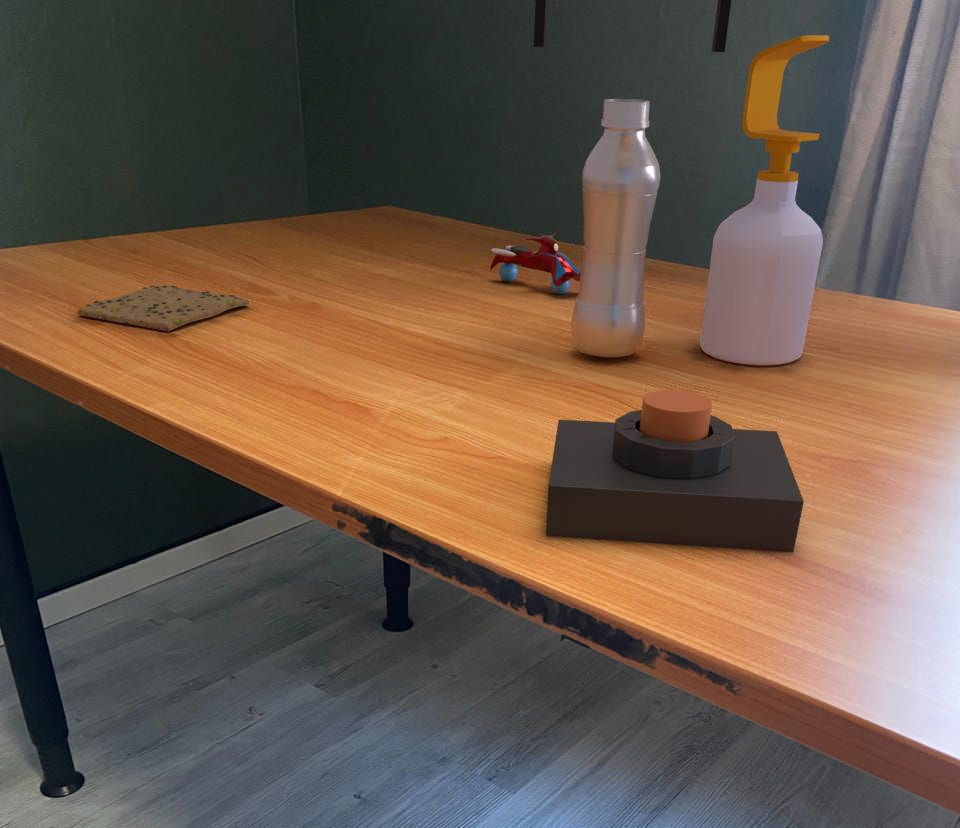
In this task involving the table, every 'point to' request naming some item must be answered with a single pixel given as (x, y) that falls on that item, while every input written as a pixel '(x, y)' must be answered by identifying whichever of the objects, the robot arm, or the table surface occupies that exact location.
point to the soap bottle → (765, 239)
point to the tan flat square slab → (161, 307)
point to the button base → (672, 487)
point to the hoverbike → (537, 262)
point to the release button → (675, 415)
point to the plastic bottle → (616, 232)
